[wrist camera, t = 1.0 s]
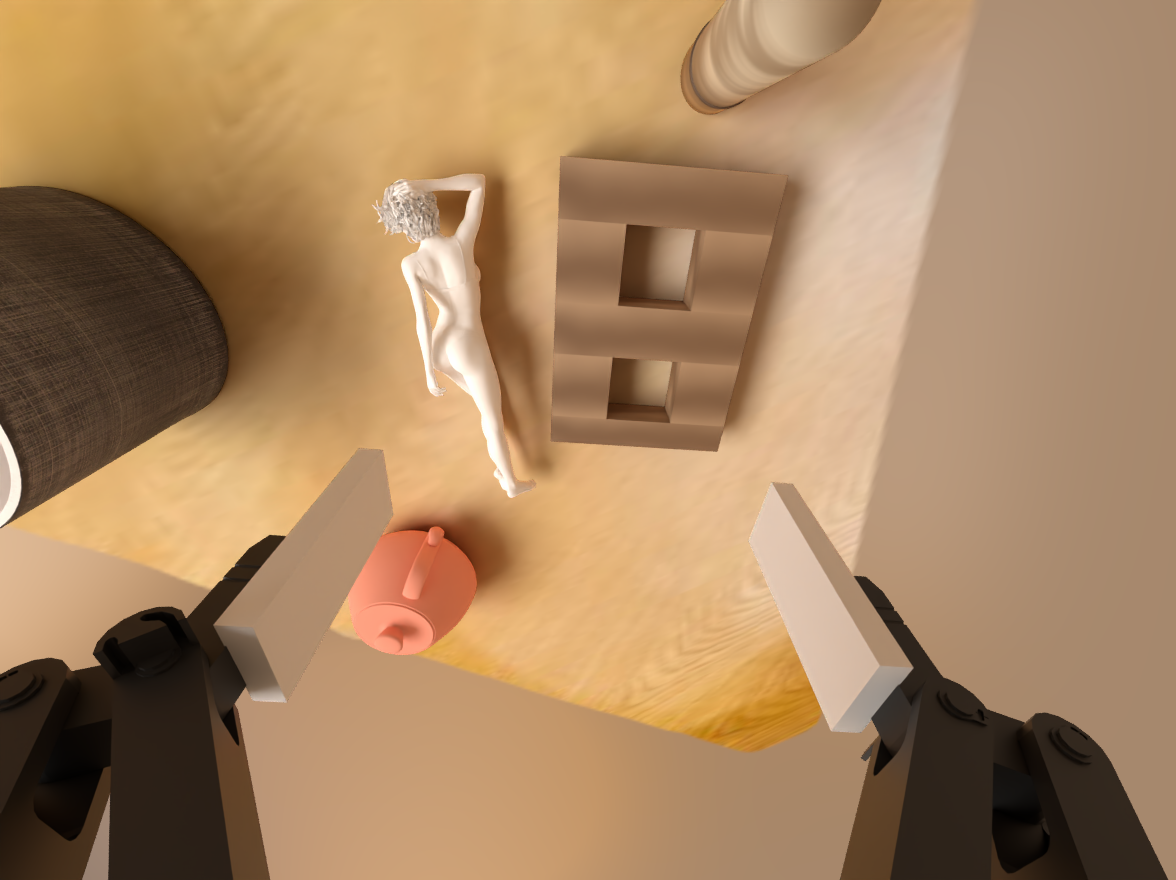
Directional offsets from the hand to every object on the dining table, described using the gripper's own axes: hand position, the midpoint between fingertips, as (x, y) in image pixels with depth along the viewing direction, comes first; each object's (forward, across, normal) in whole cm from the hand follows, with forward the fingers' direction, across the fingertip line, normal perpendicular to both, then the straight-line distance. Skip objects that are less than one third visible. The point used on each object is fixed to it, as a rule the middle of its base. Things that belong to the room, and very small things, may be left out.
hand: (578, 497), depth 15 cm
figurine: (+23, -8, -4) cm, 24 cm away
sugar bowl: (+22, -14, -27) cm, 38 cm away
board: (+22, +5, 0) cm, 23 cm away
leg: (+23, +6, +16) cm, 28 cm away
